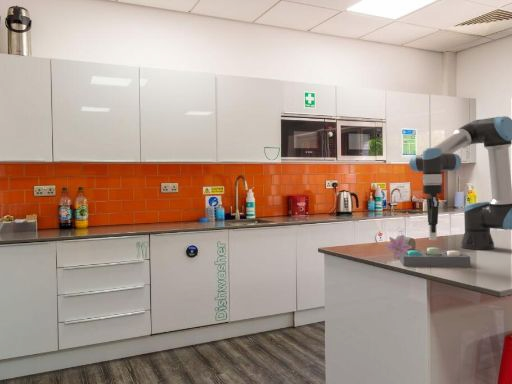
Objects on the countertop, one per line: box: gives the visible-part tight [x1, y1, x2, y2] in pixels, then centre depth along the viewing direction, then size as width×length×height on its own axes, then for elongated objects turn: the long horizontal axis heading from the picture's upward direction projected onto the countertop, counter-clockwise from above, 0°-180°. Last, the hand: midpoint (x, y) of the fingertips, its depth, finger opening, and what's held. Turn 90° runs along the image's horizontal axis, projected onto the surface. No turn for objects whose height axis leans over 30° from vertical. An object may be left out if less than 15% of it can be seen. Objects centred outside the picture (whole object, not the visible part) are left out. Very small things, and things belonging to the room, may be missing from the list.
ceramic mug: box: [394, 235, 417, 251], centre depth 219 cm, size 11×8×8 cm
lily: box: [384, 234, 412, 259], centre depth 204 cm, size 12×12×10 cm
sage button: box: [426, 246, 441, 255], centre depth 186 cm, size 5×5×4 cm
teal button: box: [408, 249, 421, 255], centre depth 187 cm, size 5×5×4 cm
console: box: [399, 251, 471, 268], centre depth 186 cm, size 26×12×4 cm, turn 79°
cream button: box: [446, 250, 461, 256], centre depth 184 cm, size 5×5×4 cm
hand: (432, 239), depth 186 cm, fingers closed
